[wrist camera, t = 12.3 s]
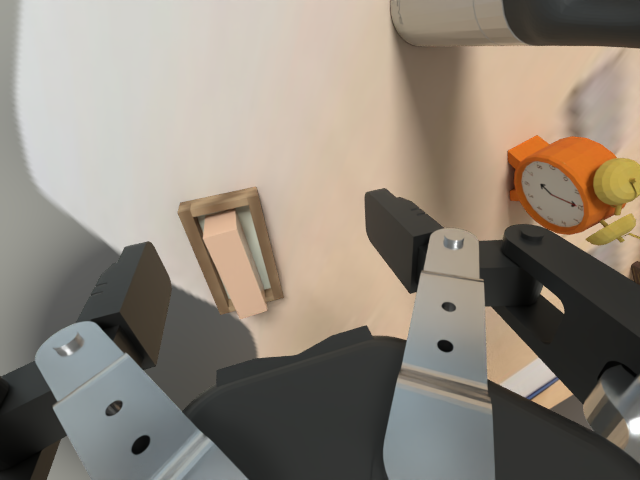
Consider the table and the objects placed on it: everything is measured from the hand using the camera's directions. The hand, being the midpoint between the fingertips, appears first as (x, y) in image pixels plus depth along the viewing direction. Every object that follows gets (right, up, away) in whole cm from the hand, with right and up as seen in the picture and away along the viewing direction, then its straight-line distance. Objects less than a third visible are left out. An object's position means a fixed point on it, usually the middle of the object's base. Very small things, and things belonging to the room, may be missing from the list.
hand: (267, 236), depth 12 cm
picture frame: (-10, -2, +34) cm, 36 cm away
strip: (-10, -2, +33) cm, 35 cm away
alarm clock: (+36, +12, +41) cm, 56 cm away
